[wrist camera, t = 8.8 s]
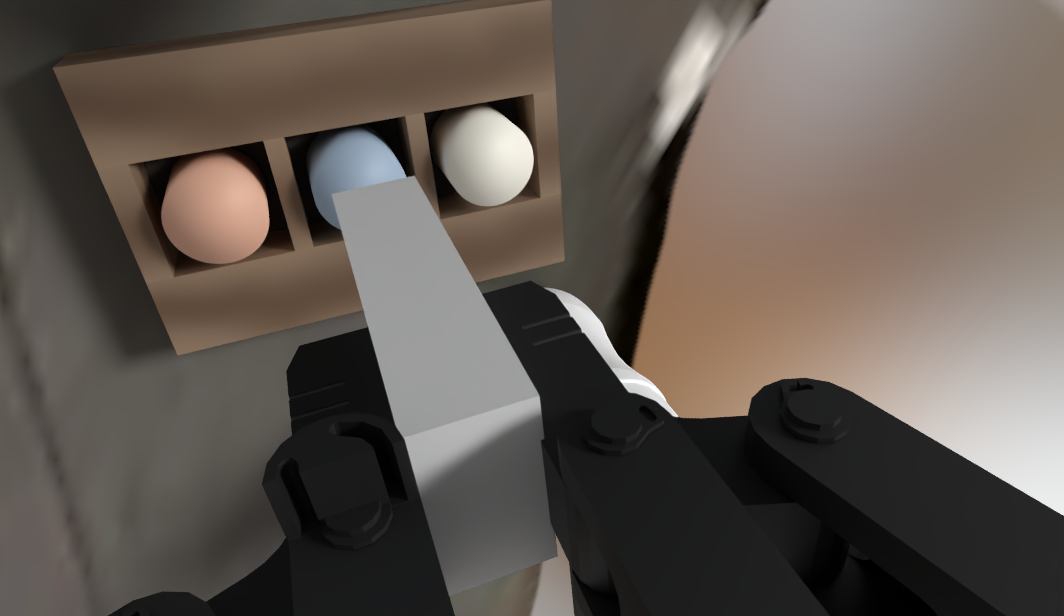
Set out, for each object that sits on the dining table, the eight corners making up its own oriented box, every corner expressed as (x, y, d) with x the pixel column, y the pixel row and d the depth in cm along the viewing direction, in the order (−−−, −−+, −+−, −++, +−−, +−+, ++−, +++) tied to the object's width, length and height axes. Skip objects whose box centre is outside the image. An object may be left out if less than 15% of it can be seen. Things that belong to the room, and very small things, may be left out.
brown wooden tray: (67, 53, 29) (52, 68, 27) (529, -8, 35) (551, -1, 32) (181, 325, 37) (177, 355, 34) (545, 240, 42) (564, 260, 40)
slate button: (296, 130, 34) (302, 154, 31) (384, 114, 35) (399, 136, 32) (317, 211, 36) (325, 242, 33) (399, 194, 37) (414, 222, 34)
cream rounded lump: (424, 107, 36) (443, 128, 32) (504, 94, 37) (530, 113, 33) (436, 187, 38) (455, 214, 35) (511, 171, 39) (536, 196, 36)
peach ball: (154, 154, 32) (145, 183, 29) (251, 137, 33) (253, 163, 30) (186, 238, 35) (181, 273, 31) (276, 219, 36) (280, 252, 32)
